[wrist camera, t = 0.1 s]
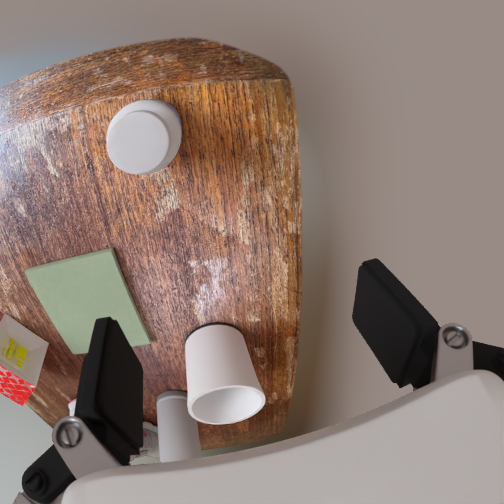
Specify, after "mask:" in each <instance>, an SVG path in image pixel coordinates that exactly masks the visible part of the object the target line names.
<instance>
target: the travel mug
mask: <svg viewBox="0 0 504 504" xmlns="http://www.w3.org/2000/svg"><path fill="white" fill-rule="evenodd" d="M187 398H188V393H186V392H184V391H178V390H171V391H166V392H163V393H161V394H160V395H159V396H158V397H157V421H158V439H159V453H160V463H163V462H173V461H181V460H189V459H196V458H202V453H201V447H200V440H199V433H198V427H197V420H196V419H194V418H193V417H192V416H191V415H190V414H189V412H188V407H187Z"/></svg>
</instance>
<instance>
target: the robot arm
mask: <svg viewBox="0 0 504 504" xmlns="http://www.w3.org/2000/svg"><path fill="white" fill-rule="evenodd" d="M352 318H353V322H354V324H355V326H356V327H357V329H358V330H359V332H360V333H361V335H362V336H363V338H364V339H365V341H366V342H367V344H368V345H369V347H370V348H371V350H372V351H373V353H374V354H375V356H376V358H377V359H378V361H379V362H380V364H381V365H382V367H383V368H384V370H385V372H386V373H387V374H388V376H389V378H390V379H391V381H392V382H393V383H397V385H398V386H399V388H402V387H404V386H406V385H408V384H410V383H411V384H412V386H413V392H411V393H409V394H407V395H405V396H403V397H401V398H398V399H396V400H394V401H392V402H389V403H387V404H385V405H383V406H380V407H378V408H376V409H374V410H371V411H369V412H366V413H364V414H362V415H359V416H356V417H354V418H351V419H349V420H346V421H343V422H341V423H337V424H335V425H332V426H329V427H326V428H323V429H320V430H317V431H314V432H311V433H308V434H304V435H301V436H298V437H294V438H291V439H287V440H284V441H280V442H276V443H272V444H268V445H264V446H260V447H256V448H251V449H247V450H242V451H237V452H232V453H227V454H222V455H216V456H210V457H204V458H196V459H189V460H181V461H173V462H163V463H153V464H141V465H131V464H130V463H129V462H130V455H140V448H142V447H143V369H142V365H141V363H140V362H139V360H138V358H137V356H136V355H135V353H134V351H133V349H132V347H131V346H130V344H129V342H128V340H127V338H126V336H125V334H124V332H123V331H122V329H121V327H120V325H119V323H118V321H117V320H113V319H112V318H111V317H104V318H98V319H96V321H95V324H94V328H93V332H92V337H91V341H90V345H89V350H88V355H86V356H85V358H84V360H83V365H82V370H81V375H80V381H79V386H78V392H77V398H76V405H75V412H74V416H68V417H64V418H62V419H61V420H59V421H58V422H57V423H56V425H55V427H54V429H53V432H52V441H53V443H54V444H53V445H52V446H51V447H50V448H49V449H48V450H47V451H46V452H45V453H44V454H43V455H42V456H41V457H39V458H38V459H37V460H36V461H35V462H34V463H33V464H32V465H31V466H30V467H29V468H28V469H27V470H26V471H25V472H24V474H23V477H22V487H23V490H24V491H23V493H20V492H19V493H18V495H17V497H16V499H15V501H14V503H13V504H504V348H501V347H496V346H492V345H487V344H483V343H479V342H475V341H472V337H471V335H470V333H469V331H468V330H467V329H466V328H465V327H463V326H461V325H459V324H455V323H449V324H445V325H444V326H442V327H440V326H439V325H438V322H437V321H436V320H435V319H434V318H433V317H432V315H431V314H430V313H429V312H428V311H427V310H426V309H425V308H424V307H423V306H422V304H421V303H420V302H419V301H418V300H417V299H416V298H415V297H414V296H413V295H412V294H411V293H410V291H409V290H408V289H407V288H406V287H405V286H404V285H403V284H402V283H401V282H400V281H399V280H398V279H397V278H396V277H395V276H394V275H393V274H392V273H391V272H390V271H389V270H388V269H387V268H386V266H385V265H384V264H383V263H382V262H381V261H380V260H378V259H376V258H375V259H371V260H368V261H364V262H363V263H362V266H360V267H359V270H358V279H357V287H356V294H355V301H354V308H353V314H352Z"/></svg>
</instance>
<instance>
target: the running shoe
mask: <svg viewBox="0 0 504 504" xmlns="http://www.w3.org/2000/svg"><path fill="white" fill-rule="evenodd" d="M75 405H76V399H74V400H72V401H71V402H69V404H68V407H69V409H70V416H74V412H75ZM146 455H147V456H150V457H153V458H157V459H160V453H159V439H158V427H157V426H155V425H154V426H153V425H152V423H150V422H147V421H143V447H142V448H140V455H130V461H132V460H134V459H135V458H140V457H143V456H146Z"/></svg>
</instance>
